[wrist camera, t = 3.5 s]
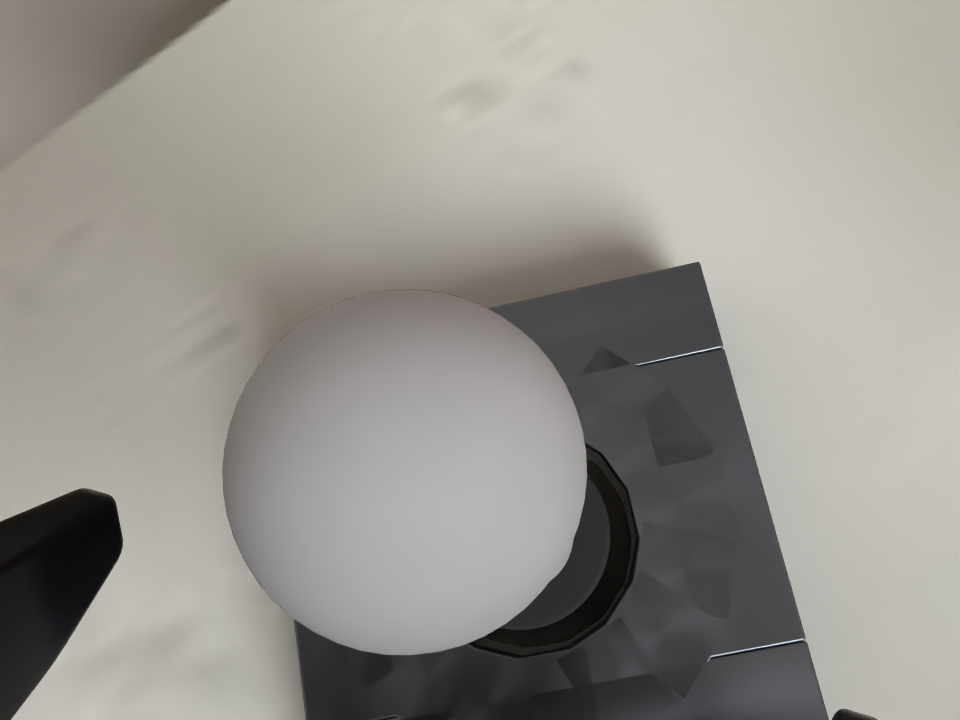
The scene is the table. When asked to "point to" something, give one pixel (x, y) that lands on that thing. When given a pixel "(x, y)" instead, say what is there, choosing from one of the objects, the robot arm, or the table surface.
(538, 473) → the joystick
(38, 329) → the table surface
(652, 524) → the square joystick base
